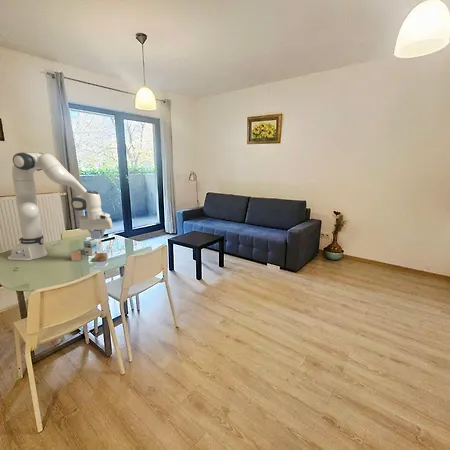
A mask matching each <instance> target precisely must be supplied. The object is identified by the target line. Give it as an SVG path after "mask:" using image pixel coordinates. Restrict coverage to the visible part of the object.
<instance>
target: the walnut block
mask: <svg viewBox="0 0 450 450" xmlns="http://www.w3.org/2000/svg"><path fill="white" fill-rule="evenodd" d="M93 257H94V258H93V259H94V263H98V262H104V261H105V262H107V260H108V258H109V257H108V252H99V253H96V254H95V255H94V256H93Z"/></svg>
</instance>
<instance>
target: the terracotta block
mask: <svg viewBox="0 0 450 450" xmlns="http://www.w3.org/2000/svg"><path fill="white" fill-rule="evenodd" d="M70 256H71V262H72V261H73V262H75V261H81V259H82V254H81V250H77V251H76V250H75V251H71V254H70Z"/></svg>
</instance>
